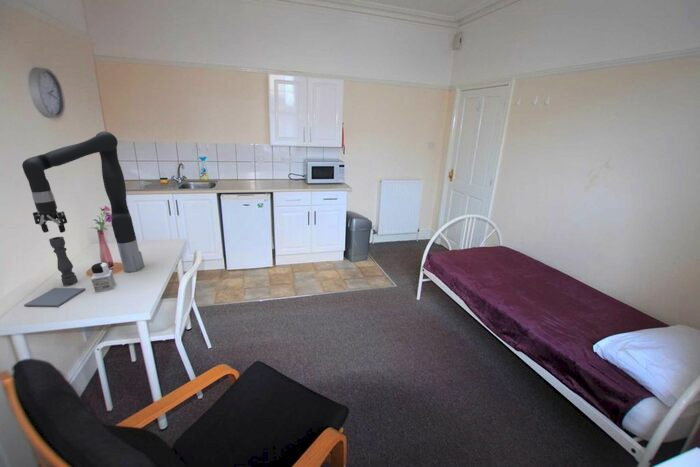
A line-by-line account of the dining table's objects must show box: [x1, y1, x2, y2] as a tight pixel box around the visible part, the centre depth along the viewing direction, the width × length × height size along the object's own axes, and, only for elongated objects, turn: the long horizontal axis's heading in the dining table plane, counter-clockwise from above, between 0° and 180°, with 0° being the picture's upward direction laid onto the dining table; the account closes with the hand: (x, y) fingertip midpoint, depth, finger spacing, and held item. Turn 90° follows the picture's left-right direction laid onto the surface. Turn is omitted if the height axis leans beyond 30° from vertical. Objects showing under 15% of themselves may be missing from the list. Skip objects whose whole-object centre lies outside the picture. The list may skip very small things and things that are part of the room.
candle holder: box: [48, 236, 79, 287], centre depth 171 cm, size 6×6×25 cm
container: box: [90, 262, 116, 293], centre depth 168 cm, size 8×8×13 cm
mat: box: [23, 287, 86, 308], centre depth 160 cm, size 16×16×1 cm
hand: (54, 232), depth 166 cm, fingers open, 8 cm apart
